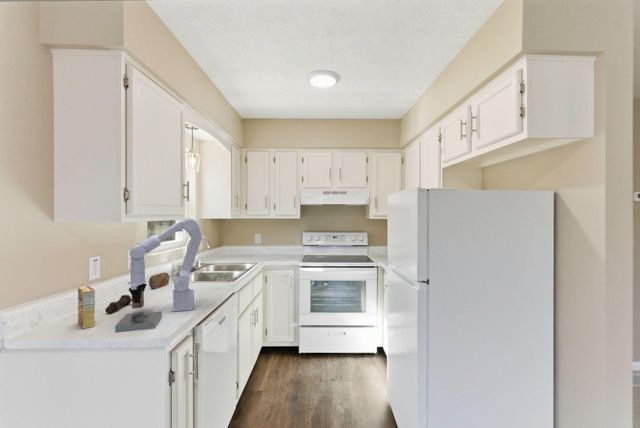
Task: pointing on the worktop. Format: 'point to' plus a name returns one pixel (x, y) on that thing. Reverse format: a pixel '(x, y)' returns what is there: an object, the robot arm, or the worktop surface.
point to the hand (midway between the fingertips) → (138, 301)
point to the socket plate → (138, 321)
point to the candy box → (86, 307)
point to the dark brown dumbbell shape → (118, 304)
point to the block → (139, 305)
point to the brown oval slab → (158, 280)
